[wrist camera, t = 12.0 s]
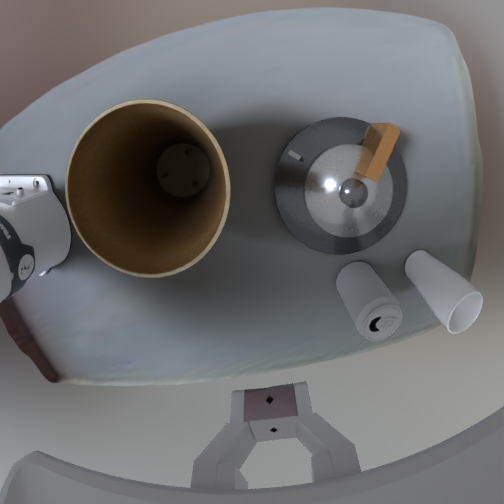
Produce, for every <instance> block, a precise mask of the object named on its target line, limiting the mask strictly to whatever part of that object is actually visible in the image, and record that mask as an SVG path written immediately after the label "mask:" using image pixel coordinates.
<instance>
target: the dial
mask: <svg viewBox="0 0 504 504" xmlns="http://www.w3.org/2000/svg"><path fill="white" fill-rule="evenodd" d="M399 134H400V130H398V129H397V128H395V127H394V126H393V125H391V124H390V123H372V124H371V125H370V128H369V130H368V132H367V134H366V137H365V139H364V141H363V143H362V145H361V146H359V145H354V144H338V145H334V146H331V147H329V148H327V149H325V150H323V151H322V152H320V153H319V154H318V155H317V156H316V157H315V158H314V159H313V160H312V162H311V163H310V164H309V166H308V168H307V170H306V173H305V176H304V180H303V199H304V202H305V205H306V208H307V210H308V212H309V213H310V215H311V216H312V218H313V219H314V220H315V222H316V223H317V224H318V225H319V226H320V227H321V228H322V229H324V230H325V231H327V232H328V233H330V234H333V235H335V236H340V237H356V236H360V235H363V234H365V233H367V232H369V231H371V230H372V229H374V228H375V227H376V226H377V225H378V224H379V223H380V222H381V221H382V220H383V219H384V217H385V216H386V214H387V212H388V210H389V208H390V205H391V202H392V197H393V182H392V177H391V174H390V171H389V169H388V167H387V165H386V163H387V161H388V159H389V156H390V154H391V152H392V150H393V148H394V145H395V143H396V141H397V138H398V136H399Z"/></svg>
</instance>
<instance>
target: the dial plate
mask: <svg viewBox="0 0 504 504" xmlns="http://www.w3.org/2000/svg"><path fill="white" fill-rule="evenodd" d="M370 125H371V124H368V123H366V122H364V121H361V120H357V119H353V118H346V117H337V118H330V119H325V120H321V121H318V122H315V123H313V124H311V125H309V126H307V127H306V128H304V129H303V130H301V131H300V132H299V133H298V134H297V135H295V136H294V137H293V139H292V140H291V141H290V142H289V143H288V144H287V146H286V148H285V149H284V151H283V152H282V154H281V157H280V159H279V161H278V164H277V168H276V172H275V178H274V193H275V200H276V204H277V207H278V210H279V213H280V215H281V218H282V219H283V221H284V223H285V225H286V226H287V228H288V229H289V231H290V232H291V233H292V234H293V235H294V236H295V237H296V238H297V239H298V240H299V241H301V242H302V243H303V244H305V245H306V246H308V247H310V248H312V249H314V250H316V251H319V252H323V253H327V254H334V255H343V254H351V253H355V252H359V251H361V250H364V249H366V248H368V247H370V246H372V245H374V244H375V243H376V242H378V241H379V240H380V239H382V238H383V237H384V236H385V235H386V234H387V233H388V232H389V230H390V229H391V228H392V227H393V225H394V224H395V222H396V220H397V219H398V217H399V215H400V212H401V210H402V207H403V204H404V200H405V194H406V176H405V170H404V166H403V163H402V160H401V157H400V155H399V153H398V151H397V149H396V148H395V146H394V148H393V150H392V152H391V154H390V156H389V159H388V161H387V163H386V165H387V167H388V169H389V171H390V174H391V177H392V182H393V197H392V202H391V205H390V208H389V210H388V212H387V214H386V216H385V217H384V219H383V220H382V221H381V222H380V223H379V224H378V225H377V226H376V227H375V228H374V229H372V230H371V231H369V232H367V233H365V234H363V235H360V236H356V237H340V236H335V235H333V234H330V233H328V232H327V231H325V230H324V229H322V228H321V227H320V226H319V225H318V224H317V223H316V222H315V220H314V219H313V218H312V216H311V215H310V213H309V212H308V210H307V208H306V205H305V202H304V199H303V180H304V176H305V173H306V170H307V168H308V166H309V164H310V163H311V162H312V160H313V159H314V158H315V157H316V156H317V155H318V154H319V153H320V152H322V151H323V150H325V149H327V148H329V147H331V146H334V145H338V144H354V145H359V146H361V145H362V143H363V141H364V139H365V137H366V134H367V132H368V130H369V128H370Z"/></svg>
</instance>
